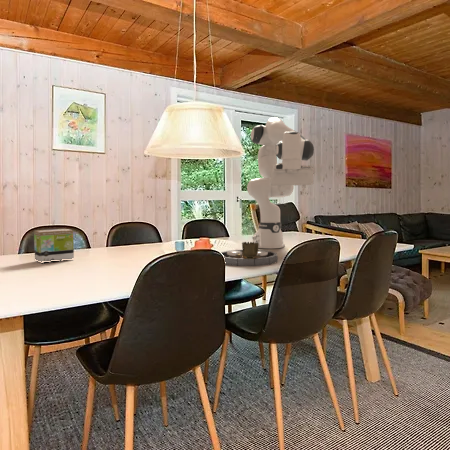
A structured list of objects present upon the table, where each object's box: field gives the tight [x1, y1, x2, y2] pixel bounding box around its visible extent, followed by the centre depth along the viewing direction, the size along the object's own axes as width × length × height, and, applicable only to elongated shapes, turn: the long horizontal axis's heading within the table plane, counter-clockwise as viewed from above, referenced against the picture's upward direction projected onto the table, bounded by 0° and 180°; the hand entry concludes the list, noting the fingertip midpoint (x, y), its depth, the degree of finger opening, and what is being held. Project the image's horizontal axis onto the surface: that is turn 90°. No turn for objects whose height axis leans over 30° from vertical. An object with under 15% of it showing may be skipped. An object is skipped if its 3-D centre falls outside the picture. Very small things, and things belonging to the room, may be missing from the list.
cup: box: [241, 241, 259, 258], centre depth 174 cm, size 8×7×8 cm
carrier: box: [221, 249, 278, 267], centre depth 181 cm, size 27×27×6 cm
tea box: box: [33, 228, 75, 262], centre depth 186 cm, size 15×10×15 cm
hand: (291, 195), depth 188 cm, fingers open, 8 cm apart
